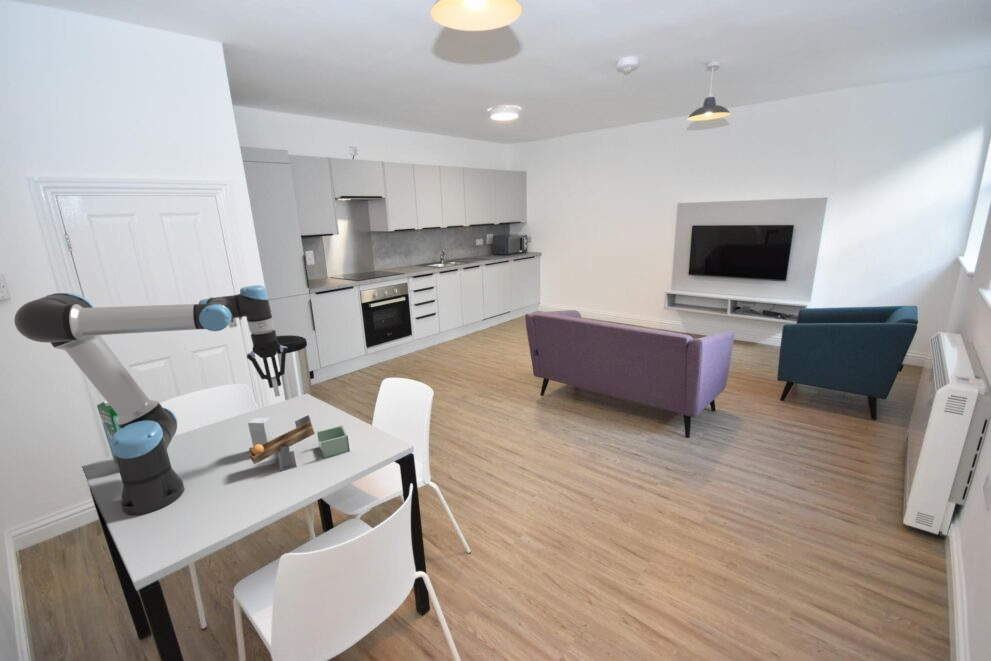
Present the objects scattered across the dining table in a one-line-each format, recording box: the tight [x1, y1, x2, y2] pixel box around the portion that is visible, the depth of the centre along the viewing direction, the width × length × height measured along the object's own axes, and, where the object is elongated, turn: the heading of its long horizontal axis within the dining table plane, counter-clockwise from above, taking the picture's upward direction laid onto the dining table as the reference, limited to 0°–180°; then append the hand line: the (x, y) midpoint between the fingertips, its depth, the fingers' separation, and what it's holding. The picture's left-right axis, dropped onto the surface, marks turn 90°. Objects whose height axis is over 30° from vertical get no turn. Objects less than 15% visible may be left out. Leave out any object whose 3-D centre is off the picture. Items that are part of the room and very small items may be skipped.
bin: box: [316, 424, 351, 459], centre depth 155 cm, size 9×9×6 cm
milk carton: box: [96, 399, 121, 466], centre depth 150 cm, size 9×9×25 cm
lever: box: [248, 414, 316, 465], centre depth 150 cm, size 20×15×3 cm
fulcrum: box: [277, 445, 297, 472], centre depth 148 cm, size 5×10×8 cm, turn 29°
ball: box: [251, 444, 264, 455], centre depth 143 cm, size 4×4×4 cm
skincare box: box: [247, 417, 275, 447], centre depth 156 cm, size 6×4×12 cm
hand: (277, 394), depth 153 cm, fingers closed
